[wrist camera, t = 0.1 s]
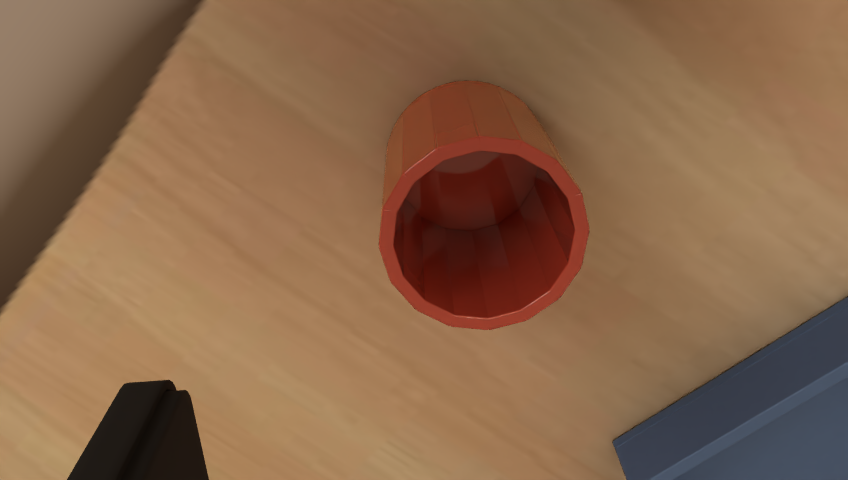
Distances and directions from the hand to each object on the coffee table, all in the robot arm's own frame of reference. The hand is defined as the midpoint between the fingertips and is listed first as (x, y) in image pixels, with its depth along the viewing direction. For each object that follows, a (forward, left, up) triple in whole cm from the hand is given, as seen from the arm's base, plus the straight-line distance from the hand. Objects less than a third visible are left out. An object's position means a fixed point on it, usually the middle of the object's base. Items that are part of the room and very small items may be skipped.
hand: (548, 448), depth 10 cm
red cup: (+2, -1, -18) cm, 18 cm away
